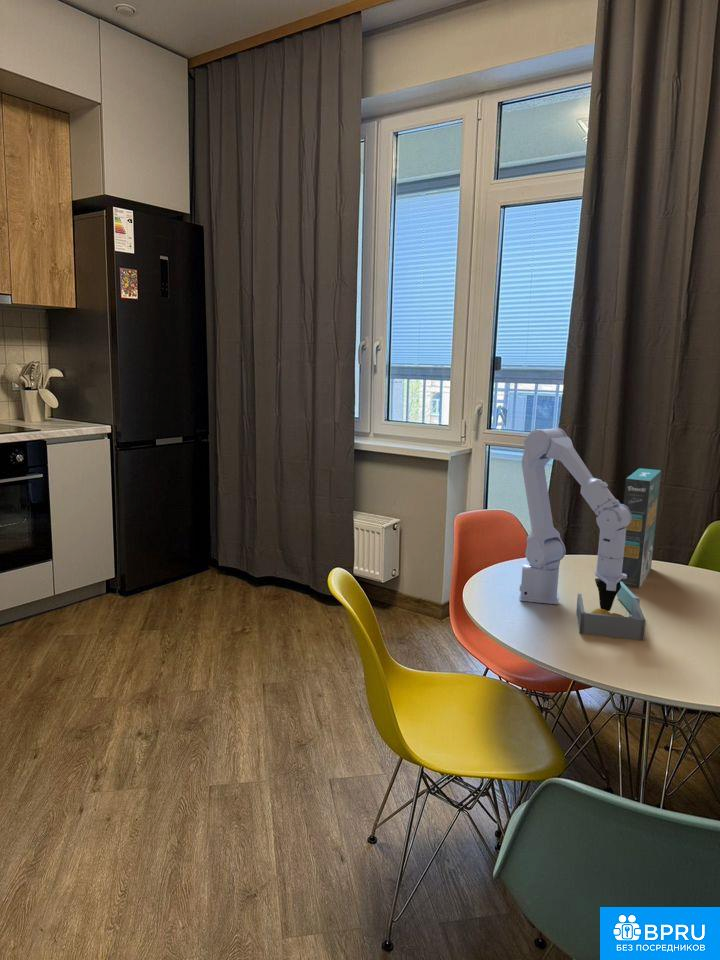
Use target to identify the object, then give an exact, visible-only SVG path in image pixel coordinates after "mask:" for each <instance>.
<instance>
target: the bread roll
mask: <svg viewBox="0 0 720 960" xmlns="http://www.w3.org/2000/svg"><path fill="white" fill-rule="evenodd" d="M590 613H595V614H604V615H614V616H623V617H625V616H624V615H623V614H620V613H617V612H611V611H607V610H604V609H601V608H596V609H594V610H592V611H591V612H590Z"/></svg>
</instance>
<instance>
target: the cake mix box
mask: <svg viewBox="0 0 720 960" xmlns="http://www.w3.org/2000/svg"><path fill="white" fill-rule="evenodd" d="M661 476H662V470H660V469H651V468H637V470H635V471H634V472H632V474H630V475H629V476H627V477H626V479H625V487H624V498H623V505H626V506H627V507H628V508H629V510H630V512H631V515H632V520H631V523H630V524H629V525H628V526H627V527H625V528H626V536H625V547H624V557H623V566H622V573H624V574H626V575H627V578H626V579H621V580H620V582H623V583H624V584H625V586H626V587H627V588H634V589H640V588H641V586H642V584H643V582H644V581H645V580H646V578H647V576H648V575H649V573H650V571H651V569H652V562H653V551H654V541H655V535H656V534H655V531H656V526H657V525H656V524H657V523H656V522H657V513H658V505H659V504H658V503H659V496H660V495H659V494H660V485H661ZM623 529H624V528H623Z"/></svg>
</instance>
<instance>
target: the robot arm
mask: <svg viewBox="0 0 720 960" xmlns="http://www.w3.org/2000/svg"><path fill="white" fill-rule="evenodd" d="M523 445H524V450H523V453H522V459H521V468H522V474H523V481H524V482H523V483H524V489H525V495H526V502H527V508H528V514H529V521H530V527H531V530H530V532H529V534H528V535H527V538H526V548H525V549H526V550H525V558H526V561H527V562H528V563H522V567H521V568H522V570H521V584H519V589H518V591H519V592H520V598H519V599H520V600H519V601H522V602H529V603H539V604H540V603H541V604H546V605H547V604H548V605H549V604H550V605H559V604H560V602H559V593H558V589H559V587H558V586H559V572H560V564H561V561H562V560H563V559H564V558H565V555H566V553H567V552H566V551H567V550H566V546H565V543H564V542H563V541H562V538H561V534H560V532H559V531H558V530H557V529H556V527H554V523H553V522H554V521H553V513H552V509H551V502H550V495H549V490H548V482H547V476H546V470H545V466H546V465H547V464H548V463H549V461H550V460H556V461H558V462H561V464H563V465H564V467H565V468H566V470H567V471H568V472H569V473H570V474H571V476H572V477H573V478H574V479H575V481H576V482H577V483H578V484H579V485H580V492H579V493H580V495H581V496H582V498H583V499H584V500H585V502H586V503H587V504H588V505H589V507H590V508H591V510H592V511H593V512H594V514H595V515H596V519H595V520H596V525H597V526H598V528H599V537H598V538H599V539H598V551H597V561H596V569H595V572H594V575H595V576H596V577H597V578H594V582H595V585H596V587H597V590H598V599H599V607H600V608H599V609H604V610H607V611H608V612H611V610H612V608H613V603H614V602H615V598H616V597H617V593H618V591H619V590H620V589H621V585H620V580H621V579H626V578H627V575H626V574H624V573H622V566H623V557H624V547H625V536H626V528H625V527H627V526H628V525H629V524H630V523H631V520H632V515H631V512H630V510H629V508H628V507H627V506H626V505H624V503H620V501H619V499H617V498H616V497H615V496H614V495H613V494H612V493H611V491H610V489H609V488H608V487H609V484H608V483H607V481H603V480H602V479H600V478H596V477H594V476H593V475H592V473H591V472H590V470H589V469H588V467H587V466H586V464H585V463H584V461H583V460H582V458H581V457H580V455H579V453H578V452H577V451H576V449H575V448H574V447H575V446H574V445H573V441H572V439H571V438H570V437H569V436H568V435H567V433H566V432H565V431H564V429H562V428H560V427H552V428H545V429H539V428H538V429H533V430H532V431H530V432H529V434H527V436H526V437H525V439H524V440H523ZM623 528H624V529H623Z"/></svg>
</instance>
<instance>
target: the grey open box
mask: <svg viewBox="0 0 720 960" xmlns="http://www.w3.org/2000/svg"><path fill="white" fill-rule="evenodd" d="M576 599H577V601H576V611H575V612H576V619H577V625H578V631H579V634H583V635H591V636H598V637H599V636H600V637H608V638H609V637H610V638H617V639H625V640H627V639H628V640H633V641H634V640H636V641H642V642H643V641H644V640H645V630H646V629H645V628H646V618H645V616H644V613H643V609H642V608H641V606H640V604H639V603H638V601H637V600H636V599H634V600H633V610H632V615H631V613H630V614H628V616H624V615H623V616H624V617H623V616H614V615H604V614H595V613H591V612H585V607H584V601H583V600H584V599H583V595H582V593H577V598H576ZM644 642H645V641H644Z"/></svg>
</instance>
